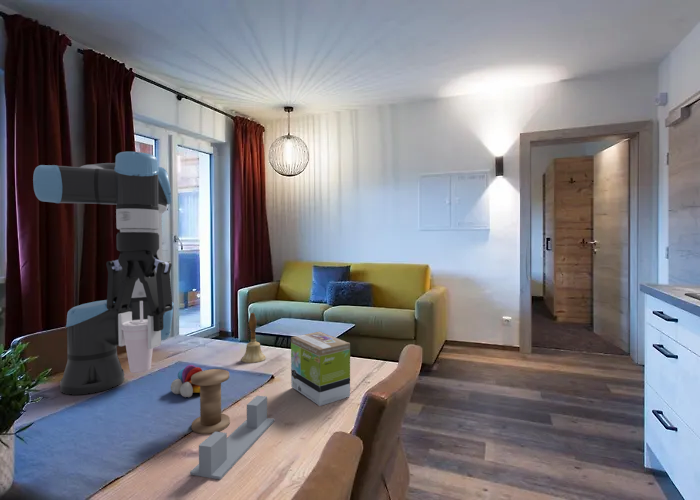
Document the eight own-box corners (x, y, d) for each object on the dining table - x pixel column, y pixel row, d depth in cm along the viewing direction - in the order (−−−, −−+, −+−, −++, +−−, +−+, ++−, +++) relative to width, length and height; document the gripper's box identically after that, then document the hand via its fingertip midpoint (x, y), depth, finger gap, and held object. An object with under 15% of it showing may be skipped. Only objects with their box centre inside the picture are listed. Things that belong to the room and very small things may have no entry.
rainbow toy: (189, 401, 99) (188, 373, 99) (166, 393, 104) (165, 366, 104) (216, 390, 106) (216, 364, 106) (193, 383, 112) (193, 358, 111)
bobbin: (183, 431, 84) (183, 380, 83) (205, 414, 92) (205, 367, 91) (216, 435, 82) (216, 383, 82) (236, 418, 90) (236, 370, 89)
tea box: (289, 388, 108) (289, 335, 107) (320, 380, 114) (320, 330, 113) (319, 407, 96) (319, 348, 95) (351, 397, 102) (351, 341, 101)
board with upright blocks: (190, 474, 69) (189, 444, 68) (250, 418, 90) (250, 394, 90) (220, 479, 67) (220, 448, 67) (274, 421, 89) (274, 397, 88)
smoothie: (142, 376, 75) (140, 304, 75) (114, 374, 76) (112, 303, 76) (164, 365, 81) (163, 298, 81) (138, 363, 83) (136, 298, 82)
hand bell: (244, 364, 128) (244, 316, 127) (238, 357, 135) (238, 312, 135) (269, 360, 132) (269, 313, 131) (261, 354, 139) (261, 309, 139)
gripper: (82, 231, 77) (84, 347, 77) (166, 230, 72) (167, 354, 73) (114, 231, 84) (116, 337, 85) (192, 231, 79) (193, 343, 80)
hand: (140, 345), depth 79 cm, fingers closed on smoothie, 6 cm apart
